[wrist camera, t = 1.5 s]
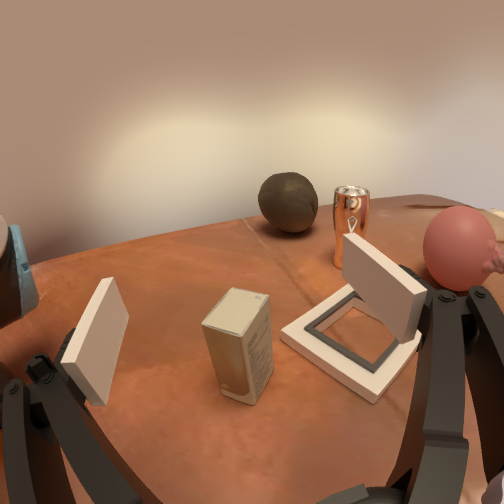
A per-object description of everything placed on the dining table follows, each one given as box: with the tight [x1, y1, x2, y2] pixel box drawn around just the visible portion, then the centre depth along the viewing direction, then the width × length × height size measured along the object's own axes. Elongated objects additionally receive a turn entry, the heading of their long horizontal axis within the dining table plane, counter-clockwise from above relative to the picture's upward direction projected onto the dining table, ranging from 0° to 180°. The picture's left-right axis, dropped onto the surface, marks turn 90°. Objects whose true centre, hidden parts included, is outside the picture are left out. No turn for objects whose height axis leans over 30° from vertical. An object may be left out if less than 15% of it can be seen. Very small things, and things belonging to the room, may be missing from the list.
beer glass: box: [333, 186, 370, 269], centre depth 51 cm, size 7×7×15 cm
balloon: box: [423, 206, 504, 291], centre depth 38 cm, size 15×20×15 cm
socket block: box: [281, 283, 422, 404], centre depth 35 cm, size 16×16×2 cm
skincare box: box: [201, 288, 274, 406], centre depth 29 cm, size 6×4×12 cm
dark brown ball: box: [258, 172, 318, 233], centre depth 67 cm, size 14×14×15 cm
